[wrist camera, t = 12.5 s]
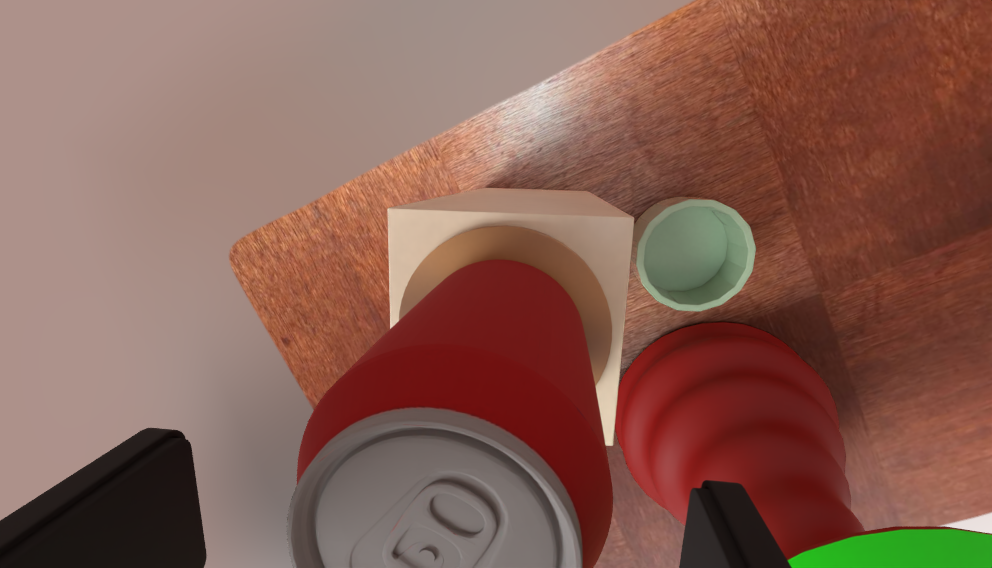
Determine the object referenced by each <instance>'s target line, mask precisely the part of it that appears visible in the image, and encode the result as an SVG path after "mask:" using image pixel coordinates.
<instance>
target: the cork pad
mask: <svg viewBox="0 0 992 568" xmlns="http://www.w3.org/2000/svg"><path fill="white" fill-rule="evenodd" d="M495 259H497V260H512V261H517V262H521V263H525V264H528V265H530V266H533V267H535V268H537V269H539V270H541V271H543V272H544V273H546V274H548V275H549V276H550V277H552V278H553V279H554V280H555V281H557V282H558V283H559V284H560V285H561V286H562V287H563V288H564V289H565V291H566V292H567V293H568V294H569V296H570V297H571V299H572V300H573V302H574V304H575V305H576V308H577V310H578V312H579V314H580V317H581V320H582V324H583V329H584V333H585V337H586V342H587V346H588V351H589V356H590V361H591V366H592V371H593V376H594V381H595V386H596V385H597V383H598V382H599V380H600V378H601V376H602V374H603V372H604V370H605V368H606V365H607V361H608V358H609V355H610V350H611V343H612V321H611V313H610V309H609V306H608V302H607V299H606V296H605V294H604V291H603V289H602V287H601V284H600V283H599V281H598V279H597V278H596V276H595V274H594V273H593V271H592V270H591V269H590V268H589V266H588V265H587V264H586V262H585V261H584V260H583V259H582V258H581V257H580V256H579V255H578V254H576V253H575V252H574V251H573V250H572V249H570V248H569V247H568V246H566V245H565V244H564V243H562V242H560V241H559V240H557V239H555V238H553V237H551V236H549V235H547V234H544V233H542V232H539V231H537V230H533V229H529V228H525V227H520V226H511V225H492V226H486V227H479V228H475V229H472V230H469V231H465V232H463V233H461V234H459V235H456V236H454V237H452V238H450V239H449V240H447V241H446V242H444V243H442V244H441V245H439V246H438V247H437V248H436V249H434V250H433V251H432V252H431V253H430V254H428V255H427V257H426V258H425V259H424V260H423V261H422V262H421V263H420V264H419V266H418V267H417V269H416V270H415V271H414V273H413V274H412V276H411V278H410V280H409V282H408V284H407V286H406V288H405V291H404V294H403V297H402V300H401V306H400V311H399V320H400V319H401V318H402V317H403V316H404V315H406V314H407V313H408V312H409V311H410V310H411V309H412V308H413V307H414V306H415V305H416V304H417V303H418V302H420V301H421V300H422V299H423V298H424V297H425V296H426V295H427V294H428V293H429V292H431V291H432V290H433V289H434V288H435V287H436V286H437V285H439V284H440V283H441V282H442V281H443V280H444V279H445V278H447V277H448V276H449V275H451V274H452V273H453V272H455V271H457V270H459V269H460V268H462V267H465V266H467V265H470V264H472V263H476V262H480V261H485V260H495Z"/></svg>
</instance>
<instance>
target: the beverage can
mask: <svg viewBox="0 0 992 568" xmlns="http://www.w3.org/2000/svg"><path fill="white" fill-rule="evenodd" d="M612 508H613V492H612V482H611V476H610V470H609V463H608V457H607V451H606V445H605V439H604V433H603V427H602V421H601V415H600V409H599V404H598V398H597V393H596V387H595V381H594V376H593V371H592V366H591V361H590V356H589V351H588V346H587V342H586V337H585V333H584V329H583V324H582V320H581V317H580V314H579V312H578V310H577V308H576V305H575V304H574V302H573V300H572V299H571V297H570V296H569V294H568V293H567V292H566V291H565V289H564V288H563V287H562V286H561V285H560V284H559V283H558V282H557V281H555V280H554V279H553V278H552V277H550V276H549V275H548V274H546V273H544V272H543V271H541V270H539V269H537V268H535V267H533V266H530V265H528V264H525V263H521V262H517V261H512V260H497V259H495V260H485V261H480V262H476V263H472V264H470V265H467V266H465V267H462V268H460V269H459V270H457V271H455V272H453V273H452V274H451V275H449V276H448V277H447V278H445V279H444V280H443V281H442V282H441V283H440V284H439V285H437V286H436V287H435V288H434V289H433V290H432V291H431V292H429V293H428V294H427V295H426V296H425V297H424V298H423V299H422V300H421V301H420V302H418V303H417V304H416V305H415V306H414V307H413V308H412V309H411V310H410V311H409V312H408V313H407V314H406V315H404V316H403V317H402V318H401V319H400V320H399V321H398V322H397V323H396V324H395V325H394V326H393V327H392V328H391V329H390V330H389V331H388V332H387V333H386V334H385V335H383V336H382V337H381V338H380V339H379V340H378V341H377V342H376V343H375V344H374V345H373V346H372V347H371V348H370V349H369V350H368V351H367V352H366V353H365V354H364V355H363V356H362V357H361V358H360V359H359V360H358V361H357V362H356V363H355V364H354V365H353V366H352V367H351V368H350V369H349V370H348V371H347V372H346V373H345V374H344V375H343V376H342V377H341V378H340V379H339V380H338V381H337V382H336V383H335V384H334V385H333V386H332V387H331V388H330V389H329V390H328V391H327V392H326V394H325V395H324V396H323V398H322V399H321V400H320V402H319V403H318V405H317V406H316V408H315V410H314V411H313V413H312V415H311V417H310V419H309V421H308V424H307V427H306V429H305V432H304V435H303V439H302V443H301V446H300V451H299V457H298V469H297V486H296V488H295V491H294V493H293V496H292V499H291V503H290V508H289V513H288V519H287V541H288V548H289V554H290V558H291V562H292V565H293V568H593V567H594V565H595V564H596V562H597V560H598V558H599V556H600V554H601V552H602V549H603V547H604V544H605V541H606V539H607V536H608V532H609V528H610V524H611V517H612Z"/></svg>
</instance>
